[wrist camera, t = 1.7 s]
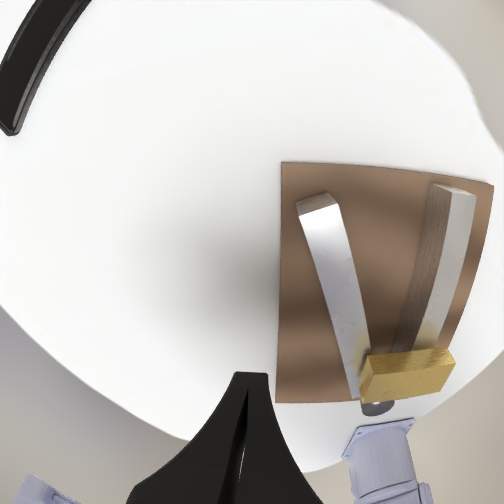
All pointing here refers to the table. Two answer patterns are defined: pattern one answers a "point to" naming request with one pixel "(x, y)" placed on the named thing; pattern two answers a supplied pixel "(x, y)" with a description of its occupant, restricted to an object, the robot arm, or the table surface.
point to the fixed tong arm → (433, 273)
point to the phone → (33, 57)
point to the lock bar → (404, 374)
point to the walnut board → (358, 267)
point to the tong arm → (337, 281)
